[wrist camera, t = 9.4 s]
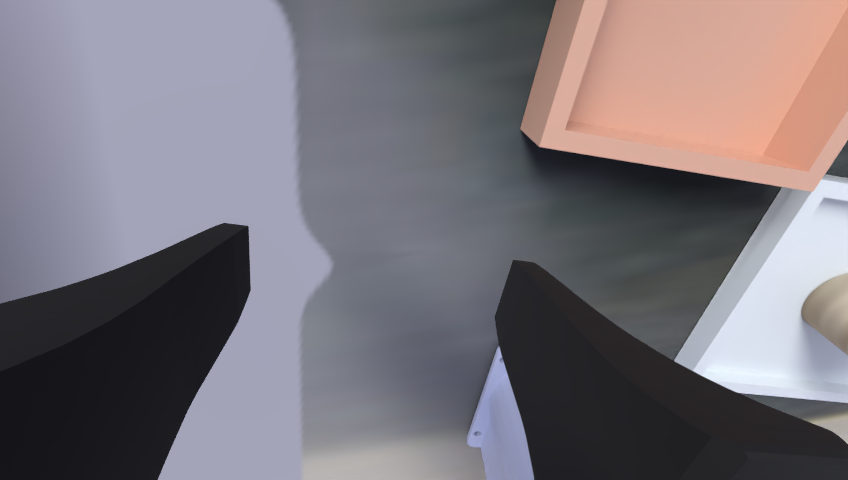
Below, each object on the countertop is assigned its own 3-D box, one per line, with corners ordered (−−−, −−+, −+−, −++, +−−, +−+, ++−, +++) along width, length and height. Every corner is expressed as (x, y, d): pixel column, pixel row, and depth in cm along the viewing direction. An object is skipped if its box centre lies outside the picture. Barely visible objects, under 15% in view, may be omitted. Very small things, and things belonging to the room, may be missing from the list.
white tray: (849, 387, 29) (871, 405, 27) (668, 369, 27) (682, 387, 26) (1018, 207, 22) (1056, 219, 21) (793, 168, 20) (820, 179, 19)
